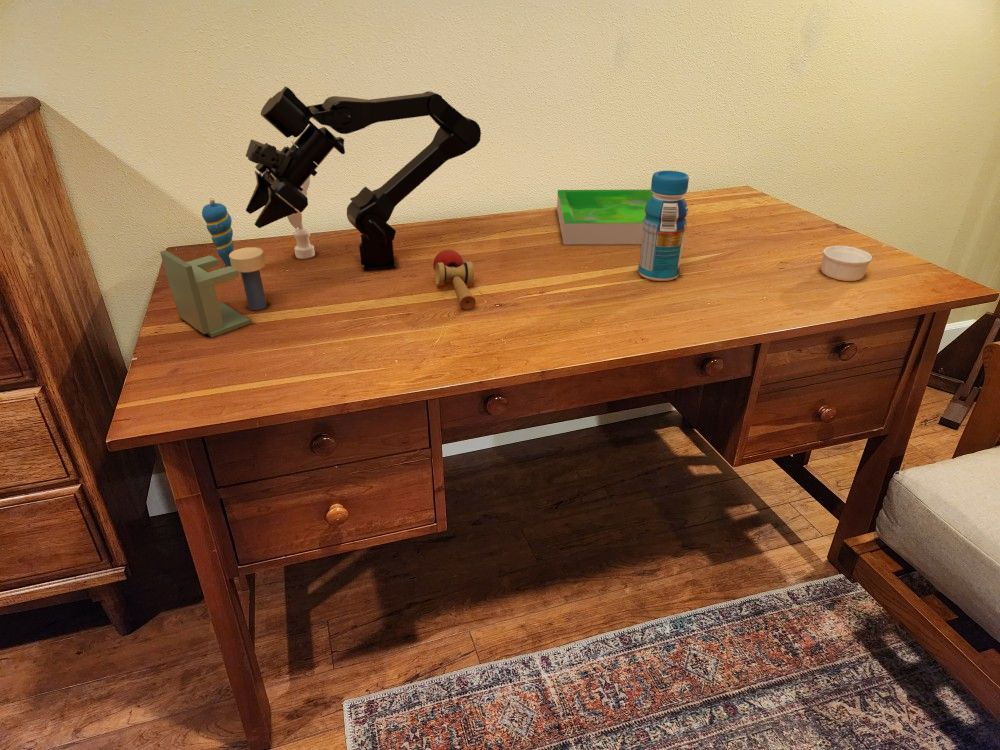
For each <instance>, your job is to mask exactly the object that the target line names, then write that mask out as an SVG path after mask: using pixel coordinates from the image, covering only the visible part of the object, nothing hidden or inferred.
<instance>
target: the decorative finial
mask: <svg viewBox="0 0 1000 750" xmlns="http://www.w3.org/2000/svg"><path fill="white" fill-rule="evenodd" d="M291 138H292V139H291V144H292V145H293V144H294V143H295V137H294V136H291ZM294 145H295V144H294ZM295 146H296V145H295ZM296 147H297V146H296ZM310 183H311V176H310V177H309V178H308V179H307V180H306V181H305V183H304V184H303V185H302V186H301V187H302V189H303V191H302V193H303V194H304V195H305V196H306V197H307V196H308V189H309V188H310ZM295 209H296V208H295ZM296 210H297V209H296ZM297 211H298V210H297ZM302 215H303V214H302V213H301V212H300V211H298V213H296V214H295V213H294V214H292V215H289V216H286V217H287V220H288V222H289V224H290V225H291V226H292V227H293V228H294V229H295V230H294V231H293V232H292V234H293V238H294V239H295V240H296V245H295V246H294V247H293V249H294V254H295V255H294V256H295V257H296V258H297V259H302V260H305V259H309V258H313V257H314V256H316V252H315V246H314V244H312V243H311V242H310V237H311V231H310V230H308V228H305V227H304V224H303V216H302Z"/></svg>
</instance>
